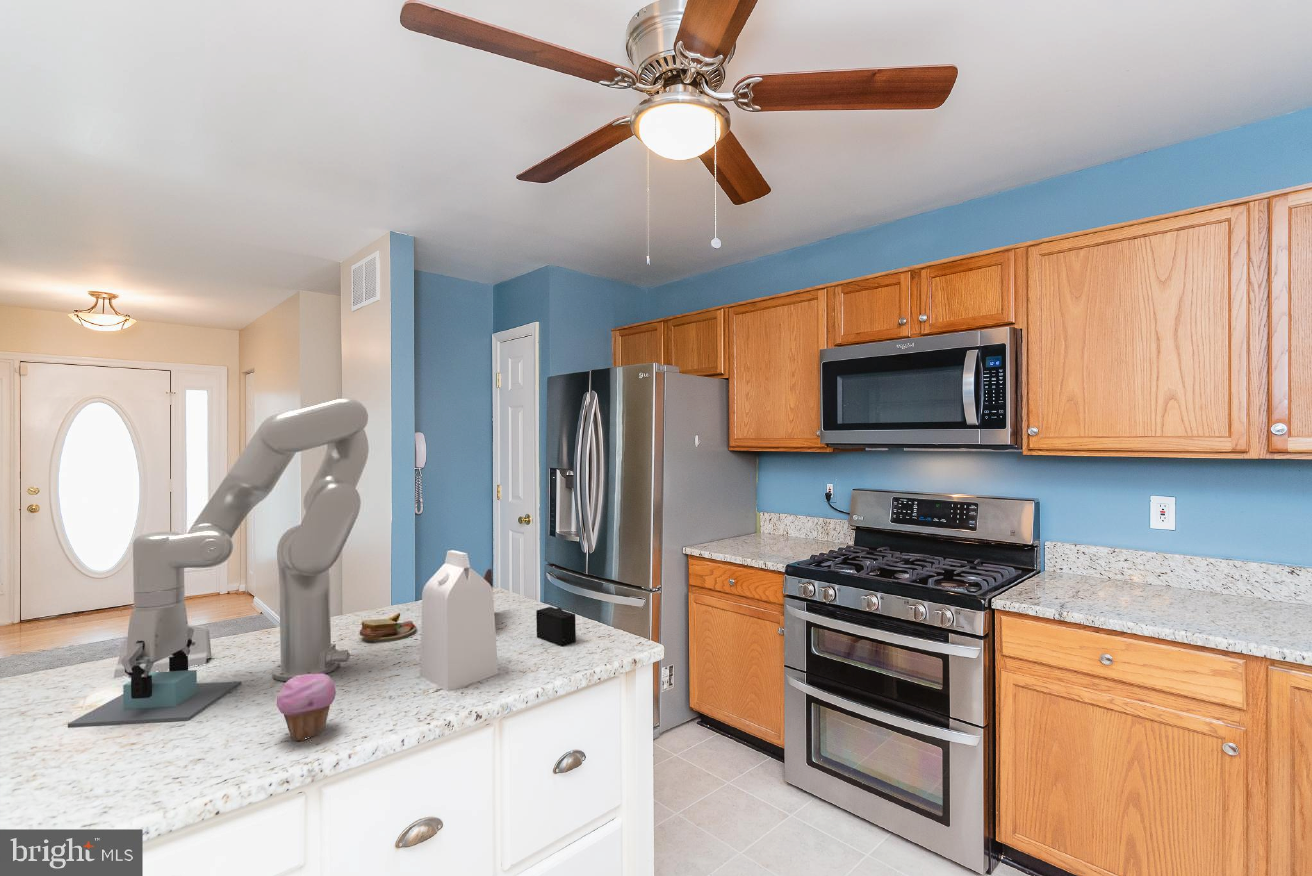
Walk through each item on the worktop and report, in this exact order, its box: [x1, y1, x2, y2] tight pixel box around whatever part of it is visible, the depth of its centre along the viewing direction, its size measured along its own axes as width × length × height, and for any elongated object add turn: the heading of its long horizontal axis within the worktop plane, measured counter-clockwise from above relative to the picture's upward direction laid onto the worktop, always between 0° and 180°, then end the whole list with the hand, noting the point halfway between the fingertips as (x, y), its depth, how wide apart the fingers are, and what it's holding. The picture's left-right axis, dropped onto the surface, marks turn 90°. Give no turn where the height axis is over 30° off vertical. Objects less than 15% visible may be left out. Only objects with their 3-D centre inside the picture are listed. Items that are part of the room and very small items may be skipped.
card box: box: [122, 669, 198, 709], centre depth 115 cm, size 6×9×4 cm, turn 95°
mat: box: [67, 680, 242, 728], centre depth 115 cm, size 20×16×1 cm
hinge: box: [113, 624, 212, 679], centre depth 135 cm, size 17×5×10 cm, turn 115°
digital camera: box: [535, 606, 577, 648], centre depth 148 cm, size 10×5×7 cm, turn 47°
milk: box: [419, 549, 499, 692], centre depth 127 cm, size 12×12×26 cm
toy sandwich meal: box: [358, 612, 417, 642], centre depth 154 cm, size 12×14×5 cm
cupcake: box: [276, 673, 336, 742], centre depth 102 cm, size 9×9×10 cm
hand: (161, 686), depth 115 cm, fingers open, 9 cm apart
